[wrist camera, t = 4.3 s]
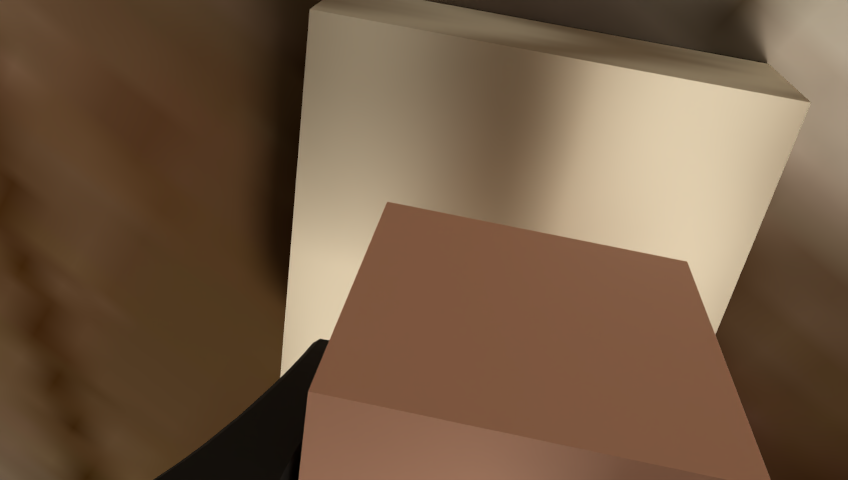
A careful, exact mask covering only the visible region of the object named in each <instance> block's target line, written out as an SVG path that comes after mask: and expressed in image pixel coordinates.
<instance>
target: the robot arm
mask: <svg viewBox="0 0 848 480" xmlns="http://www.w3.org/2000/svg"><path fill="white" fill-rule="evenodd" d="M328 342H329V340H325V339H319V340H317V341H315V342H314V343H312V344H311V346H310V347H309V348H308V349H307V350H306V351H305V353H304V354H303V355H302V356H301V357H300V358H299V359H298V360H297V361H296V362H295V363H294V364H293V365H292V367H291V368H290V369H289V370H288V371H287V372H286V373H285V374H284V375H283V376H282V377H281V378H280V379H279V380H278V381H277V382H276V383H275V384H273V385H272V386H271V387H270V388H269V389H268V390H267V391H266V392H265V393H264V394H263V395H262V396H260V397H259V398H258V399H257V400H256V401H255V402H254V403H253V404H252V405H251V406H250V407H248V408H247V409H246V410H245V411H244V412H243V413H242V414H241V415H239V416H238V417H237V418H236V419H235V420H233V421H232V422H231V423H230V424H228V425H227V426H226V427H225V428H223V429H222V430H221V431H220V432H218V433H217V434H216V435H215V436H214V437H212V438H211V439H210V440H209V441H207V442H206V443H205V444H203V445H202V446H201V447H200V448H198V449H197V450H195V451H194V452H193V453H191V454H190V455H189V456H187V457H186V458H185V459H183V460H182V461H180V462H179V463H177V464H176V465H175V466H173V467H172V468H170V469H169V470H167V471H166V472H164V473H163V474H161V475H160V476H158V477H157V478H155V479H154V480H298V479H299V470H300V461H301V452H302V442H303V433H304V424H305V415H306V406H307V397H308V390H309V388H310V386H311V383H312V381H313V378H314V376H315V374H316V371H317V369H318V366H319V364H320V362H321V359H322V357H323V354H324V352H325V350H326V347H327V345H328Z"/></svg>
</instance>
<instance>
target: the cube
mask: <svg viewBox="0 0 848 480" xmlns="http://www.w3.org/2000/svg"><path fill="white" fill-rule="evenodd" d="M298 480H770V477H769V475H768V472H767V469H766V467H765V464H764V461H763V459H762V456H761V454H760V451H759V448H758V446H757V443H756V441H755V438H754V435H753V433H752V430H751V427H750V425H749V422H748V420H747V417H746V414H745V412H744V409H743V407H742V404H741V401H740V399H739V396H738V393H737V391H736V388H735V386H734V383H733V380H732V378H731V375H730V372H729V370H728V367H727V365H726V362H725V359H724V357H723V354H722V352H721V349H720V346H719V344H718V341H717V338H716V336H715V333H714V331H713V328H712V325H711V323H710V320H709V317H708V315H707V312H706V310H705V307H704V304H703V302H702V299H701V297H700V294H699V291H698V289H697V286H696V283H695V281H694V278H693V276H692V273H691V270H690V268H689V265H688V262H687V261H682V260H677V259H672V258H667V257H662V256H657V255H652V254H647V253H642V252H637V251H632V250H627V249H622V248H617V247H612V246H607V245H602V244H597V243H592V242H587V241H582V240H577V239H572V238H567V237H562V236H557V235H552V234H547V233H542V232H537V231H532V230H527V229H522V228H517V227H512V226H507V225H502V224H497V223H492V222H487V221H482V220H477V219H472V218H467V217H462V216H457V215H452V214H447V213H442V212H437V211H432V210H427V209H422V208H417V207H412V206H407V205H402V204H397V203H392V202H387V203H386V206H385V208H384V210H383V213H382V215H381V218H380V220H379V222H378V225H377V227H376V230H375V232H374V234H373V237H372V239H371V242H370V244H369V246H368V249H367V251H366V254H365V256H364V258H363V261H362V263H361V266H360V268H359V270H358V273H357V275H356V278H355V280H354V282H353V285H352V287H351V290H350V292H349V294H348V297H347V299H346V302H345V304H344V306H343V309H342V311H341V314H340V316H339V318H338V321H337V323H336V326H335V328H334V330H333V333H332V335H331V338H330V340H329V342H328V345H327V347H326V350H325V352H324V354H323V357H322V359H321V362H320V364H319V366H318V369H317V371H316V374H315V376H314V378H313V381H312V383H311V386H310V388H309V390H308V397H307V406H306V415H305V424H304V433H303V442H302V452H301V461H300V470H299V479H298Z"/></svg>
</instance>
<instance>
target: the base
mask: <svg viewBox="0 0 848 480" xmlns="http://www.w3.org/2000/svg"><path fill="white" fill-rule="evenodd" d="M810 104H811V102H810V101H809V100H808V99H807V98H805V97H804V96H803V95H802V94H801V93H800V92H799V91H798V90H797V89H796V88H794V87H793V86H792V85H791V84H790V83H789V82H788V81H787V80H786V79H785V78H784V77H782V76H781V75H780V74H779V73H778V72H777V71H776V70H775V69H774V68H773V67H771V66H770V65H769V64H766V63H761V62H755V61H750V60H745V59H739V58H734V57H728V56H723V55H718V54H712V53H707V52H701V51H696V50H691V49H685V48H680V47H674V46H669V45H663V44H658V43H653V42H647V41H642V40H636V39H631V38H626V37H620V36H615V35H609V34H604V33H598V32H593V31H588V30H582V29H577V28H571V27H566V26H561V25H555V24H550V23H544V22H539V21H534V20H528V19H523V18H517V17H512V16H506V15H501V14H496V13H490V12H485V11H479V10H474V9H469V8H463V7H458V6H452V5H447V4H441V3H436V2H431V1H425V0H322V1H320V2H319V3H318V4H316V5H315V6H313V7H312V8H311V9H310V12H309V24H308V37H307V50H306V62H305V75H304V87H303V100H302V112H301V125H300V138H299V150H298V163H297V175H296V188H295V200H294V213H293V226H292V238H291V251H290V263H289V276H288V288H287V301H286V314H285V326H284V339H283V351H282V364H281V376H280V378H281V377H282V376H283V375H284V374H285V373H286V372H287V371H288V370H289V369H290V368H291V367H292V365H293V364H294V363H295V362H296V361H297V360H298V359H299V358H300V357H301V356H302V355H303V354H304V353H305V351H306V350H307V349H308V348H309V347H310V346H311V344H312V343H314V342H315V341H317V340H319V339H325V340H330V338H331V335H332V333H333V330H334V328H335V326H336V323H337V321H338V318H339V316H340V314H341V311H342V309H343V306H344V304H345V302H346V299H347V297H348V294H349V292H350V290H351V287H352V285H353V282H354V280H355V278H356V275H357V273H358V270H359V268H360V266H361V263H362V261H363V258H364V256H365V254H366V251H367V249H368V246H369V244H370V242H371V239H372V237H373V234H374V232H375V230H376V227H377V225H378V222H379V220H380V218H381V215H382V213H383V210H384V208H385V206H386V203H387V202H392V203H397V204H402V205H407V206H412V207H417V208H422V209H427V210H432V211H437V212H442V213H447V214H452V215H457V216H462V217H467V218H472V219H477V220H482V221H487V222H492V223H497V224H502V225H507V226H512V227H517V228H522V229H527V230H532V231H537V232H542V233H547V234H552V235H557V236H562V237H567V238H572V239H577V240H582V241H587V242H592V243H597V244H602V245H607V246H612V247H617V248H622V249H627V250H632V251H637V252H642V253H647V254H652V255H657V256H662V257H667V258H672V259H677V260H682V261H687V262H688V265H689V268H690V270H691V273H692V276H693V278H694V281H695V283H696V286H697V289H698V291H699V294H700V297H701V299H702V302H703V304H704V307H705V310H706V312H707V315H708V317H709V320H710V323H711V325H712V328H713V331H714V333H715V334H716V332H717V329H718V327H719V324H720V322H721V319H722V317H723V315H724V312H725V310H726V307H727V305H728V303H729V300H730V298H731V295H732V293H733V290H734V288H735V286H736V283H737V281H738V278H739V276H740V273H741V271H742V269H743V266H744V264H745V261H746V259H747V257H748V254H749V252H750V249H751V247H752V244H753V242H754V240H755V237H756V235H757V232H758V230H759V227H760V225H761V223H762V220H763V218H764V215H765V213H766V211H767V208H768V206H769V203H770V201H771V198H772V196H773V194H774V191H775V189H776V186H777V184H778V181H779V179H780V177H781V174H782V172H783V169H784V167H785V165H786V162H787V160H788V157H789V155H790V152H791V150H792V148H793V145H794V143H795V140H796V138H797V135H798V133H799V131H800V128H801V126H802V123H803V121H804V119H805V116H806V114H807V111H808V109H809V106H810Z"/></svg>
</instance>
